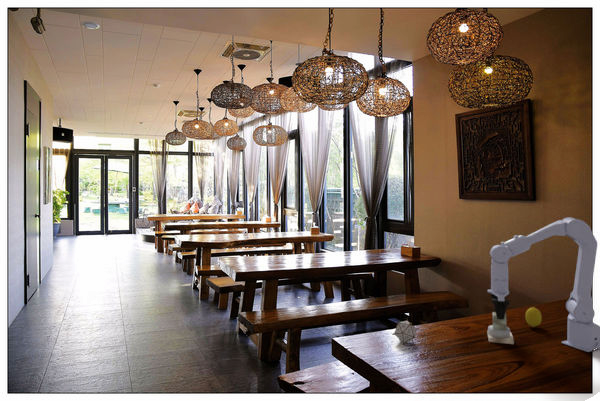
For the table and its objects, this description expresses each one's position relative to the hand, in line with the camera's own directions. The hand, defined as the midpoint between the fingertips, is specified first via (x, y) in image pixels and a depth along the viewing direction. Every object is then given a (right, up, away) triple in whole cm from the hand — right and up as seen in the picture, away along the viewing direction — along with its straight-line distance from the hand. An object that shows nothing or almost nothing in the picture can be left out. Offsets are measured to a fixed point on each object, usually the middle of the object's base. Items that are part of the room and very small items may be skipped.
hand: (499, 316), depth 161 cm
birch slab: (0, -9, 0) cm, 9 cm away
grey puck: (0, -7, 0) cm, 7 cm away
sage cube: (0, -4, 0) cm, 4 cm away
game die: (-34, -9, -1) cm, 36 cm away
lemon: (+19, -8, +12) cm, 24 cm away
